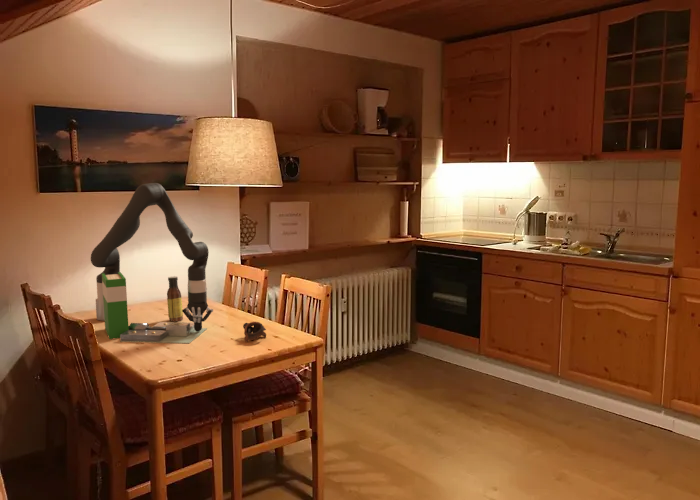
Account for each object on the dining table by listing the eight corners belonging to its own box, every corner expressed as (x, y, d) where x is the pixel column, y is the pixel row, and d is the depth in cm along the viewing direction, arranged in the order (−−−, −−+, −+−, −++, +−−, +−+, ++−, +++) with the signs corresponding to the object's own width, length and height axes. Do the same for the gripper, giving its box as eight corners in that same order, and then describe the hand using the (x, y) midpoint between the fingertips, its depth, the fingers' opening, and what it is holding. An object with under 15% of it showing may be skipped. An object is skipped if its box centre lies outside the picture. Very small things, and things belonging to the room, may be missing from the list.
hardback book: (105, 328, 253) (101, 273, 250) (123, 326, 257) (120, 272, 253) (109, 339, 238) (105, 280, 234) (129, 336, 241) (125, 278, 238)
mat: (119, 341, 234) (119, 341, 234) (143, 327, 256) (143, 326, 256) (189, 343, 232) (189, 342, 232) (207, 328, 254) (207, 328, 254)
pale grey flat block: (148, 335, 242) (147, 324, 241) (160, 327, 254) (159, 317, 253) (186, 336, 240) (186, 325, 240) (196, 328, 252) (196, 318, 252)
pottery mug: (273, 339, 240) (269, 324, 235) (256, 353, 235) (252, 339, 230) (252, 327, 247) (248, 313, 241) (235, 341, 241) (231, 327, 236)
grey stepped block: (118, 340, 235) (117, 329, 234) (131, 332, 247) (131, 321, 246) (161, 341, 233) (161, 330, 233) (173, 333, 245) (172, 322, 245)
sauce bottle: (185, 318, 271) (183, 275, 269) (179, 322, 265) (178, 278, 262) (171, 318, 272) (169, 275, 269) (165, 321, 266) (164, 278, 263)
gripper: (178, 291, 242) (179, 333, 244) (209, 292, 241) (210, 333, 243) (184, 288, 249) (185, 328, 252) (215, 288, 248) (216, 329, 251)
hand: (198, 331), depth 247 cm, fingers closed
